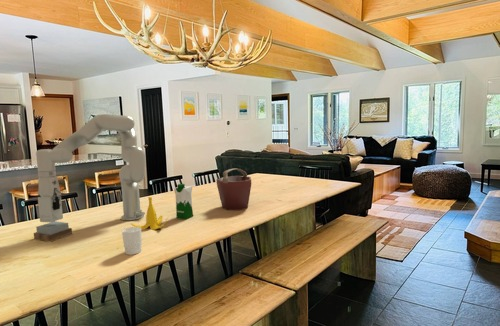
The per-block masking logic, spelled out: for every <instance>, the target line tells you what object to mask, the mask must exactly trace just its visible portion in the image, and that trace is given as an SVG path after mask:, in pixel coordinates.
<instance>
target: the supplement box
mask: <svg viewBox="0 0 500 326" xmlns="http://www.w3.org/2000/svg"><path fill="white" fill-rule="evenodd" d="M53 196H54V195H53ZM54 198H56V197H54ZM59 203H60V209H57V210H53V200H52V197H45V196H41V197H39V196H38V197H37V204H38V205H37V206H38V212H39V213H38V215H39V222H40V223H51V222H54V221H57V222H58V221H59V220H63V218H64V215H63V202H62V197H61V198H60V201H59Z"/></svg>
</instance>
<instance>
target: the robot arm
mask: <svg viewBox="0 0 500 326" xmlns="http://www.w3.org/2000/svg"><path fill="white" fill-rule="evenodd" d="M134 128H135V120H134V119H133V118H132V117H131V116H129V115H122V114H121V115H120V114H119V115H117V114H108V113H107V114H105V113H104V114H96V115H95V116H93V117H92V118H90V119H89V120H88V121H87V122H86V123H85V124H84V125H83V126H81V127H80V128H79V129H78V130H76V131H75V132H73V133H71V135H69V136H67V137H66V138H63V140H62V141H60V142H59V143H58V144H56V145H55V146H54V147H53V148H52V149H51V148H47V149H46V148H44V149H43V148H42V149H38V150H37V151H36V152H35V156H36V157H35V158H36V165H37V166H36V167H37V176H38V181H37V182H38V190H37V192H36V193H37V195H38V197H41V196H45V197H52V200H53V210H57V209H60V203H59V201H60V198H61V199H62V193H61V190H60V189H61V188H60V183H59V179H58V177H57V172H56V164H57V163H58V164H67V163H69V162H71V161H72V159H73V157H74V154H73V152H74V151H75V150H77V149H78V148H80V147H83V146H86V145H88V144H90V143H91V142H93V140H94V139H96V138H97V137H98V136H99V135H100V134H101V133H103V132H104V131H114V132H117V133H118V134H119V137H120V140H121V143H120V144H121V146H120V147H121V149H120V150H121V155H120V156H121V160H122V161H123V162H124V163H125V162H126V163H128V164H125V165H123V166H121V168H120V169H119V172H118V176H119V181H120V186H121V195H122V196H121V198H122V208H123V209H122V210H123V215H121V217H120V219H121V220H123V221H134V220H135V221H136V220H139V219H142V218H144V215H145V214H146V212H144V211H143V210H142V209H141V201H140V199H141V198H140V188H139V187H140V186H139V183H140V182H142V181H143V179H144V178H145V175H146V154H145V152H144V150H143V149H142V148H141V147H139V146H138V141H137V140H138V138H137V134H136V131H135V129H134ZM53 195H54V196H53ZM54 197H56V198H54Z"/></svg>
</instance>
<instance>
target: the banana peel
mask: <svg viewBox="0 0 500 326" xmlns="http://www.w3.org/2000/svg"><path fill="white" fill-rule="evenodd" d="M147 198H148V207H147V210H146V217H145V218H146V219H145V222H146V223H145V225H137V224H135V223H132V222H131V223H130V225H131V226H132V227H140V228H141V230H147V229H148V228H150V229H151V230H158V229H162V228H163V227H164V224H162V221H163V215H160V216H159V218H158V217H157V213H156V212H157V211H156V210H155V208H154V205H153V196H148V197H147Z"/></svg>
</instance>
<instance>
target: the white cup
mask: <svg viewBox="0 0 500 326" xmlns="http://www.w3.org/2000/svg"><path fill="white" fill-rule="evenodd" d="M121 235H122V242H123V243H122V244H123V247H124V253H125V255H127V256H129V255H130V256H131V255H137V254H140V253H141V252H142V251H143V250H142V249H143V248H142V244H143V243H142V240H143V239H142V238H143V237H142V229H141V228H140V227H134V226H130V227H126V228H124V229H122V231H121Z"/></svg>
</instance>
